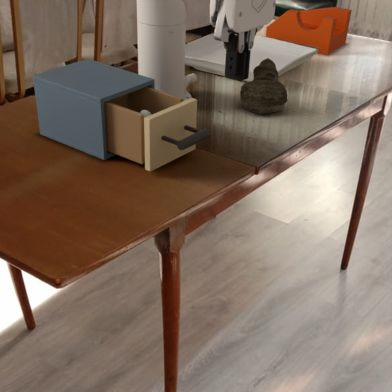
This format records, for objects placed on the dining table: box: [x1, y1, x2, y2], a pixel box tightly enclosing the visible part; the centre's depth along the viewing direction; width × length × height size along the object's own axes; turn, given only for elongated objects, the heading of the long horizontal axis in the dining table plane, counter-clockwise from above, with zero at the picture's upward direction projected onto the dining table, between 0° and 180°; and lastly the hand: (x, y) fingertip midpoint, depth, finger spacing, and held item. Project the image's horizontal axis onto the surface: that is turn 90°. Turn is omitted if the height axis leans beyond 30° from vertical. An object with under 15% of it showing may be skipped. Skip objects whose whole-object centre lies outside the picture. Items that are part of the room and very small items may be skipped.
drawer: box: [104, 87, 211, 172], centre depth 108 cm, size 20×12×9 cm, turn 52°
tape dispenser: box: [265, 6, 352, 56], centre depth 166 cm, size 18×13×8 cm
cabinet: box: [32, 58, 155, 161], centre depth 114 cm, size 17×14×11 cm
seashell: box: [239, 58, 289, 115], centre depth 128 cm, size 11×12×10 cm
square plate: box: [185, 32, 318, 83], centre depth 151 cm, size 27×27×4 cm
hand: (236, 77), depth 93 cm, fingers closed
